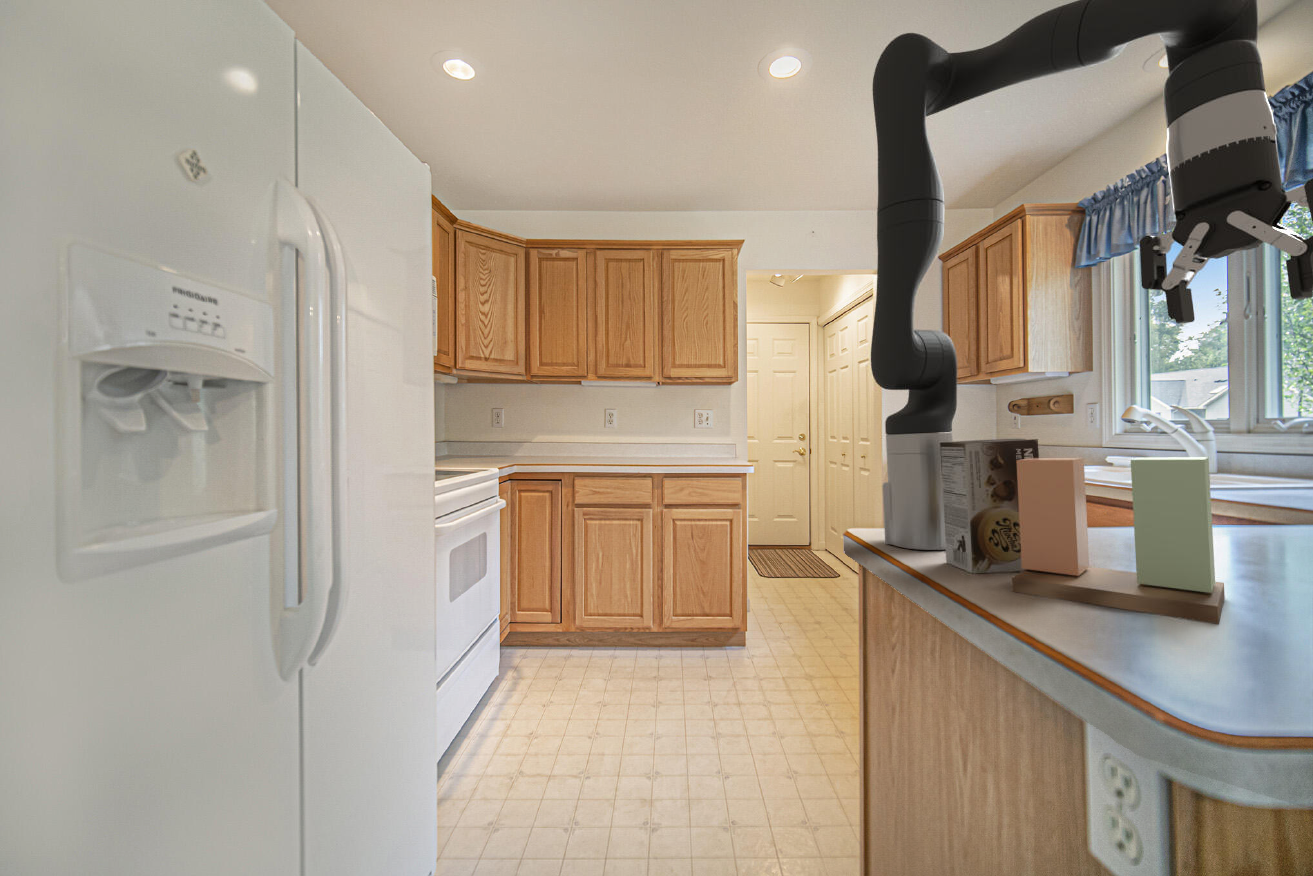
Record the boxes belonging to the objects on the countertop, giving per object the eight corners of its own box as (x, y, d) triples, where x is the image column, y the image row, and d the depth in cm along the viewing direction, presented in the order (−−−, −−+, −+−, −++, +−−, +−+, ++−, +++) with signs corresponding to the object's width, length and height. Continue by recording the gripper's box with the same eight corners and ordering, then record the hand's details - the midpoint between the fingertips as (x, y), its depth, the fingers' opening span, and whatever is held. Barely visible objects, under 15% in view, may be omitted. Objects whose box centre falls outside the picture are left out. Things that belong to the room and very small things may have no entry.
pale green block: (1137, 583, 51) (1130, 459, 51) (1144, 573, 54) (1138, 457, 55) (1211, 593, 47) (1204, 459, 47) (1215, 581, 51) (1208, 457, 51)
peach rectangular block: (1021, 568, 58) (1016, 460, 58) (1034, 560, 62) (1029, 458, 62) (1078, 575, 55) (1072, 460, 55) (1089, 567, 58) (1083, 457, 58)
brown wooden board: (1012, 591, 56) (1012, 577, 56) (1039, 573, 63) (1038, 561, 63) (1218, 624, 45) (1217, 606, 45) (1224, 598, 51) (1223, 582, 51)
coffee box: (1012, 559, 70) (1007, 438, 70) (1048, 571, 63) (1041, 437, 64) (943, 562, 70) (937, 441, 70) (971, 574, 64) (965, 440, 64)
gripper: (1116, 187, 59) (1133, 329, 59) (1305, 104, 46) (1330, 286, 45) (1155, 194, 62) (1172, 330, 61) (1345, 117, 49) (1369, 289, 48)
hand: (1239, 311), depth 53 cm, fingers open, 8 cm apart
